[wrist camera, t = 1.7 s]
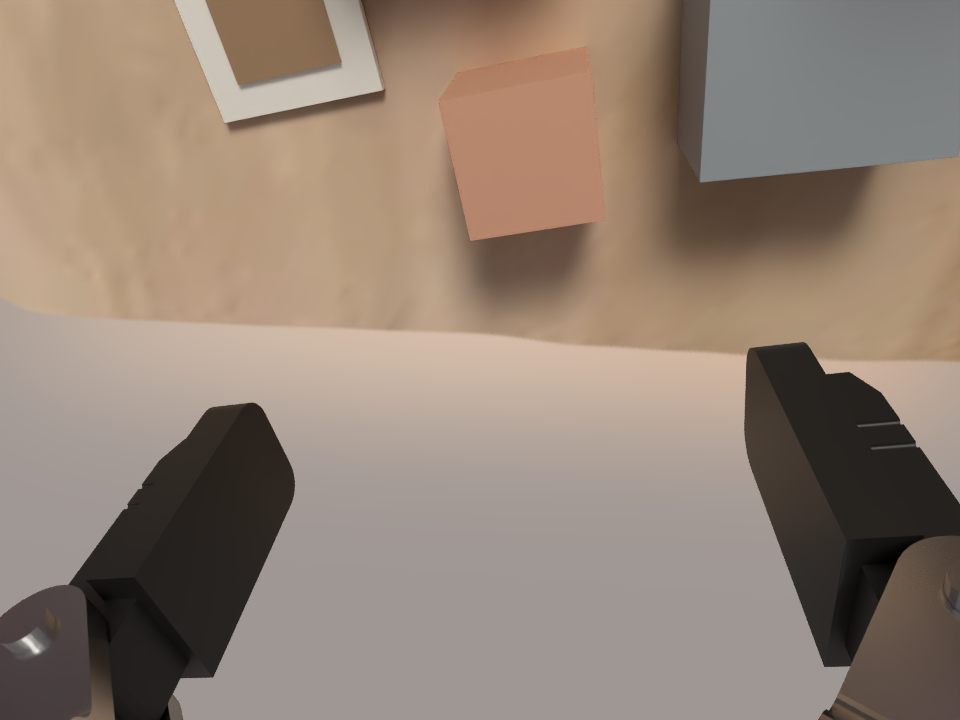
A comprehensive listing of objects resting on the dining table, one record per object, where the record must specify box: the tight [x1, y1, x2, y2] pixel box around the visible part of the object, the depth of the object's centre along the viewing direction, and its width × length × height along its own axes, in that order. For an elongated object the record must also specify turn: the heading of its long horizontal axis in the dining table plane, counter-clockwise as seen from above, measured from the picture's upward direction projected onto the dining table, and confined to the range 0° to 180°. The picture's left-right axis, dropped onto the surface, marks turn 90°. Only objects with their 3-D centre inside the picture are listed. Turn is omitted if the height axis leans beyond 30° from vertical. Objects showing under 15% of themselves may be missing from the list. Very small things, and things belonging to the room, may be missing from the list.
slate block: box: [677, 0, 960, 182], centre depth 21 cm, size 8×8×5 cm
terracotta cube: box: [439, 46, 606, 241], centre depth 24 cm, size 5×5×5 cm
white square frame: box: [174, 0, 385, 123], centre depth 24 cm, size 7×7×1 cm
